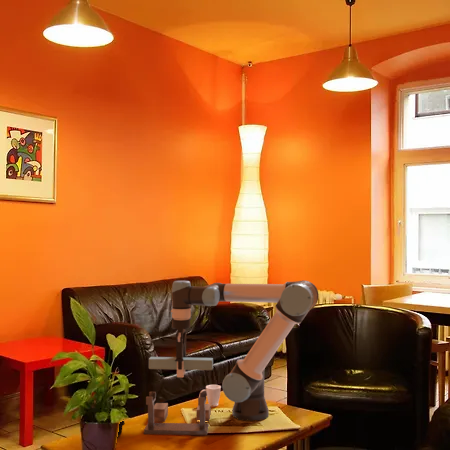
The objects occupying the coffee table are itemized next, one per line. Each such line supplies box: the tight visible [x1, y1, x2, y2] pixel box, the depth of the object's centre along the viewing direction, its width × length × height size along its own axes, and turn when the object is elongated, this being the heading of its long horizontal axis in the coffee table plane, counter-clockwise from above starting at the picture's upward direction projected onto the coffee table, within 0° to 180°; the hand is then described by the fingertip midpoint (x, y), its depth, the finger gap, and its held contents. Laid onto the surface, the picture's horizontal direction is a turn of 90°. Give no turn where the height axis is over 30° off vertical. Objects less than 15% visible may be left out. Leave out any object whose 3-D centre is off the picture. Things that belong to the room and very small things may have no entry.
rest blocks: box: [154, 402, 212, 423], centre depth 238 cm, size 23×8×5 cm, turn 86°
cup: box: [198, 384, 222, 407], centre depth 255 cm, size 7×10×8 cm
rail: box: [148, 356, 214, 371], centre depth 238 cm, size 26×4×4 cm, turn 86°
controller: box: [117, 420, 126, 437], centre depth 219 cm, size 4×12×10 cm, turn 25°
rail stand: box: [143, 391, 210, 436], centre depth 224 cm, size 24×8×14 cm, turn 86°
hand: (181, 375), depth 238 cm, fingers closed on rail, 4 cm apart
